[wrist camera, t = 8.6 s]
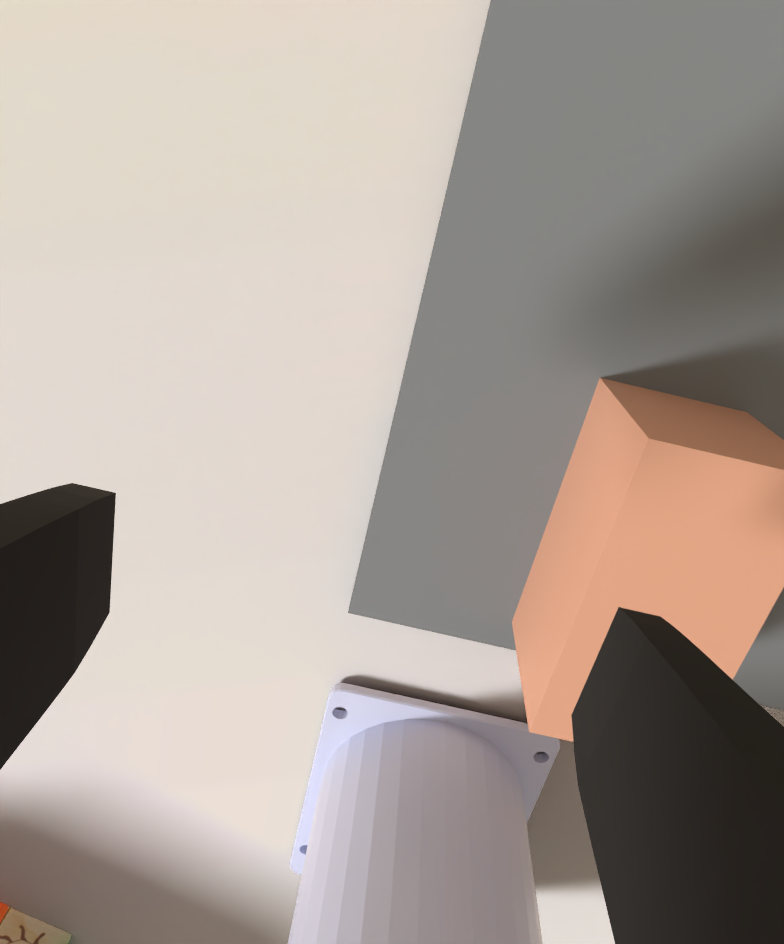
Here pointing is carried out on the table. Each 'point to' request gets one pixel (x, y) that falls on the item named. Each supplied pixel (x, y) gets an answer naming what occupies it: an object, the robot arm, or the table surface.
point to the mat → (582, 287)
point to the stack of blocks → (28, 929)
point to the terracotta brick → (652, 540)
